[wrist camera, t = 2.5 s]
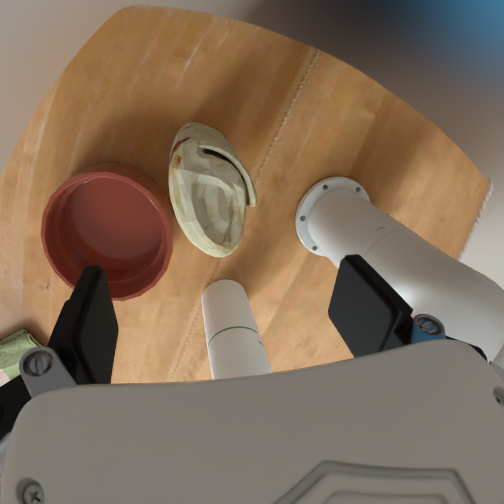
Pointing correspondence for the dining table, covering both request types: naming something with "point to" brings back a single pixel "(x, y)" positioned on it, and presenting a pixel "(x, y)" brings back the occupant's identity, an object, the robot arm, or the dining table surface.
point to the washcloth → (15, 351)
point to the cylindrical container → (232, 332)
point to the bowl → (110, 228)
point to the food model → (209, 189)
